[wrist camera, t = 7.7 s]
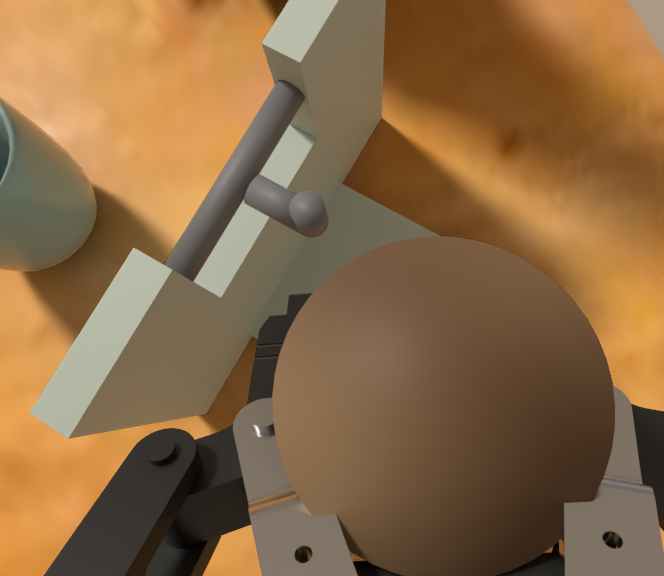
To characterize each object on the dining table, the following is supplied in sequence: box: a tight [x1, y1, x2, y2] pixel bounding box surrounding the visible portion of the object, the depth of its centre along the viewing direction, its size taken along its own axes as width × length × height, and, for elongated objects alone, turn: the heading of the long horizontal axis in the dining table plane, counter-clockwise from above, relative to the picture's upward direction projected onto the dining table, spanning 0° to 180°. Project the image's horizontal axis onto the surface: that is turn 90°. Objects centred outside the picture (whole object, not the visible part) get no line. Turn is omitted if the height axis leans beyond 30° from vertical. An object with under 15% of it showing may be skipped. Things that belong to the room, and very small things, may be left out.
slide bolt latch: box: [30, 0, 440, 439], centre depth 26 cm, size 20×15×15 cm
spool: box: [272, 236, 615, 576], centre depth 13 cm, size 5×5×10 cm
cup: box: [0, 97, 97, 272], centre depth 30 cm, size 8×8×10 cm
